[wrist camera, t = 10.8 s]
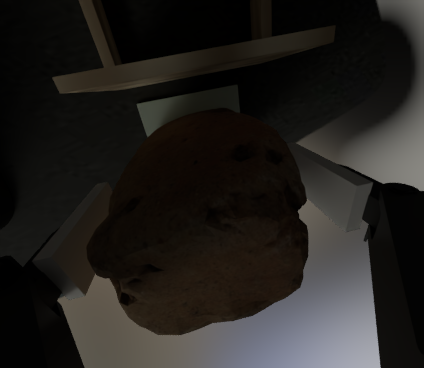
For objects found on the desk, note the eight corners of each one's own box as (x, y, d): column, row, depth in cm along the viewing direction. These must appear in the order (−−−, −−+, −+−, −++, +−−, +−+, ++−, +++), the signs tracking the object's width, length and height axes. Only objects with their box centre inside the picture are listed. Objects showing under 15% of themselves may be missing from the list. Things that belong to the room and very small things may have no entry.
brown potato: (172, 179, 26) (149, 362, 9) (144, 129, 23) (14, 270, 5) (243, 149, 26) (370, 284, 8) (226, 93, 22) (386, 122, 5)
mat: (164, 183, 27) (164, 185, 27) (137, 103, 22) (136, 104, 21) (243, 167, 28) (244, 168, 27) (236, 84, 22) (237, 84, 22)
